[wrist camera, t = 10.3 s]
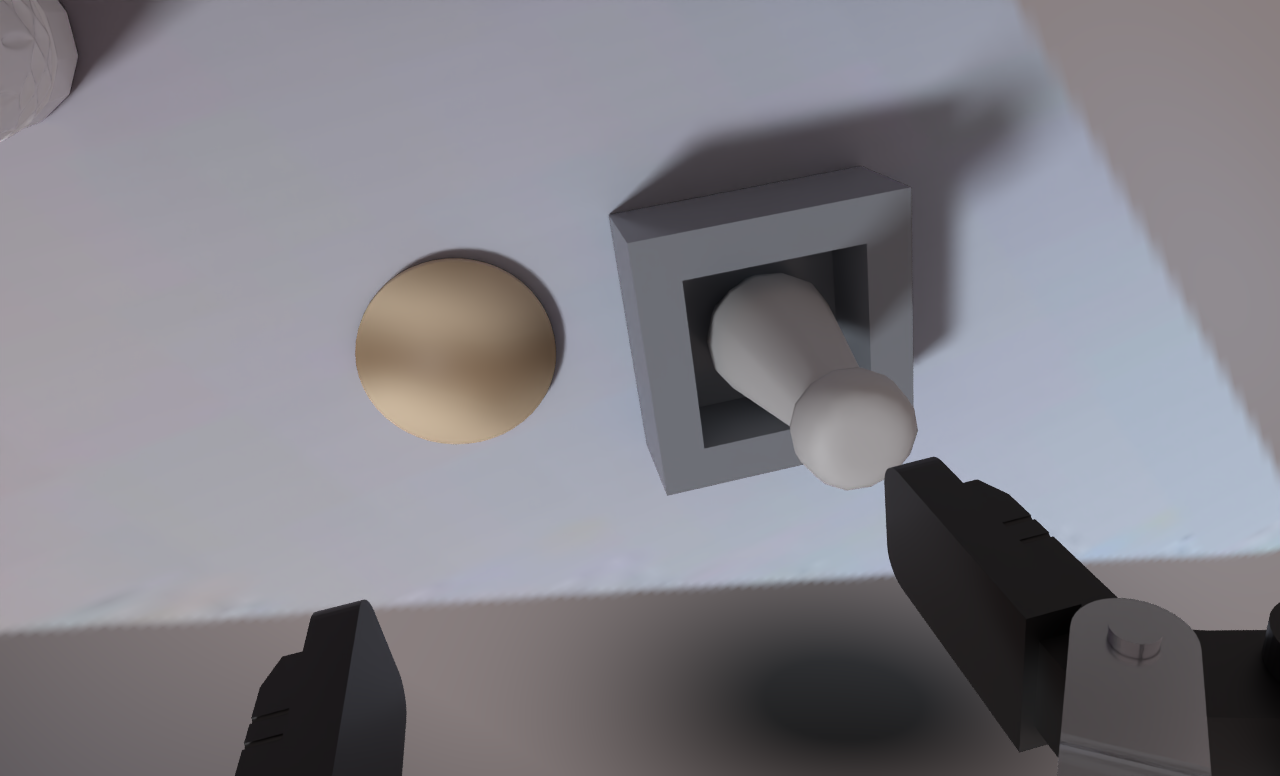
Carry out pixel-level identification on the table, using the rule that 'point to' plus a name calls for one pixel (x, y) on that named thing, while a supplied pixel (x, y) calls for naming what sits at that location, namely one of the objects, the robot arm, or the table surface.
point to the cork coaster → (455, 351)
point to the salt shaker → (810, 380)
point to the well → (718, 261)
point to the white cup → (33, 62)
